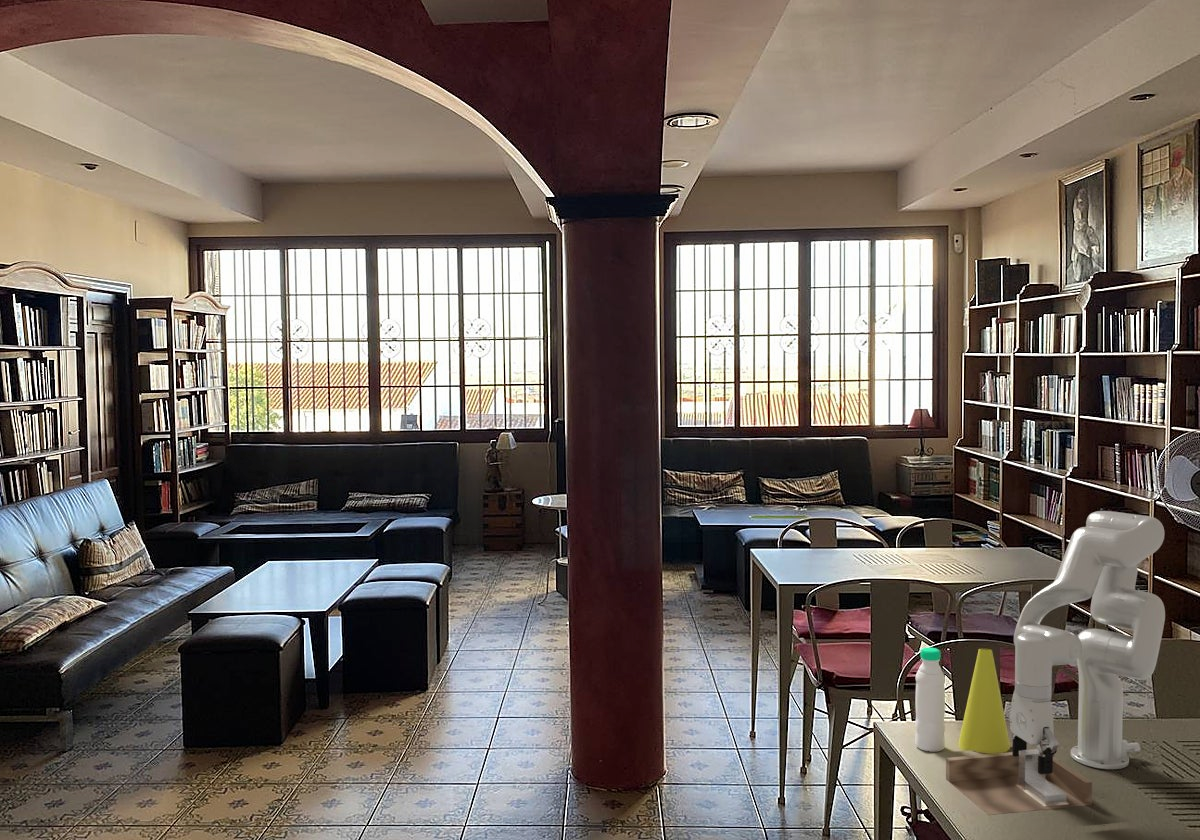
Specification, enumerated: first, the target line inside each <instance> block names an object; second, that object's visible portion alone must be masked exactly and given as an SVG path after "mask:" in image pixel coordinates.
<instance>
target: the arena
mask: <svg viewBox="0 0 1200 840" xmlns="http://www.w3.org/2000/svg"><path fill="white" fill-rule="evenodd" d="M1018 775H1019V756H1016V757H1015V756H1013V754H1012V751H1011V752H1010V751H1009V752H1008V751H1006V752H1003V753H995V754H991V753H984V754H975V755H964V756H962V755H961V756H952V757H945V780H946V781H947V782H949V783H950V784H951V785H953V787H954V788H955V789H957V790H958V791H959V792H960V793H962V794H963V795H964V796H965V797H967V799H969V800H970V801H971V802H973V803H974V804H975V805H976V806H977V807H978V808H980V810H982V811H983V812H984V813H986V814H987V815H988V816H991V815H992V816H994V815H1003V814H1004V815H1005V814H1015V813H1021V812H1023V813H1024V812H1033V811H1044V810H1045V811H1046V810H1054V809H1056V810H1057V809H1065V808H1066V809H1067V808H1073V807H1083V806H1085V807H1086V806H1092V803H1093V802H1092V800H1093V797H1092V795H1093V781H1092V780H1089V779H1088V778H1087V777H1085V776H1084V775H1082V774H1080V773H1078V771H1076V770H1075V769H1073V768H1071V767H1069V766H1068V765H1066V764H1065V763H1064V762H1062V761H1060V760H1059V759H1057V758H1056V757H1055V756H1054V757H1053V772H1052V773H1051V774H1046V776H1045V779H1046V780H1047V781H1049V782H1050V783H1052V784H1053V785H1054V786H1056V787H1057V788H1059V789H1060V790H1062V791H1063V792H1064V793H1066V794H1067V796H1066V803H1061V804H1051V805H1045V804H1043V803H1042V802H1040V801H1039V800H1038V799H1036V798H1035V797H1034V796H1032V795H1031V794H1030V793H1028V792H1027V791H1026V790H1024V789H1023V788H1022V787H1020V786H1019V785H1018Z"/></svg>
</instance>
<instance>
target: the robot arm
mask: <svg viewBox="0 0 1200 840" xmlns="http://www.w3.org/2000/svg"><path fill="white" fill-rule="evenodd" d="M1164 540H1165V529H1164V526H1163V522H1161V521H1160V520H1159V519H1157V518H1156V517H1153V516H1149V515H1142V514H1134V513H1126V512H1118V511H1110V510H1097V511H1094V512H1091V513H1090V514H1089V515H1088V516H1087V518H1086V521H1085V526H1082V527H1079V528H1077V529H1076V530H1074V532H1073V533H1072V535H1071V537H1070V539H1069V542H1068V544H1067V547H1066V550H1065V553H1064V555H1063V558H1062V561H1061V563H1060V566H1059V568H1058V571H1057V574H1056V576H1055V578H1054V581H1052V582H1051V583H1050V584H1048V585H1047V586H1045V587H1044V588H1042V589H1041V590H1039V591H1038V592H1037V593H1035V594H1034V595H1033V596H1032V597H1031V598H1030V599H1029V600H1028V601H1027V602H1026V603H1025V605H1024V606H1023V609H1022V611H1021V613H1020V615H1019V618H1018V620H1017V623H1016V626H1015V629H1014V633H1013V645H1014V647H1015V648H1014V649H1015V651H1014V653H1015V654H1014V655H1015V658H1014V660H1015V661H1014V690H1013V694H1012V698H1011V703H1010V704H1011V705H1010V706H1011V707H1010V713H1009V714H1008V715H1007V717H1008V721H1009V728H1010V729H1009V730H1010V731H1011V733H1010V734H1011V735H1010V736H1011V738H1012V751H1011V752H1012V754H1013V756H1015V757H1016V756H1019V751H1020V750H1028V748H1027V744H1028V745H1030V746H1032V747H1033V746H1034V747H1035V746H1036V749H1038V751H1039V753H1040V756H1038V773H1039V774H1051V773H1052V772H1053V757H1054V758H1055V754H1056V753H1057V752H1058V750H1057V749H1058V747H1059V745H1060V743H1059V741H1058V739H1057V738H1056V737H1055V734H1054V715H1053V706H1052V705H1053V704H1052V695H1053V693H1052V691H1053V688H1052V687H1053V686H1052V683H1053V679H1052V678H1053V666H1063V665H1064V666H1065V665H1070V664H1073V663H1074V662H1075V661H1076V664H1077V670H1078V715H1077V716H1078V717H1077V718H1078V719H1077V720H1078V721H1077V723H1078V724H1077V745H1075V746H1072V748H1071V749H1070V756H1071V757H1072V759H1073V760H1075V761H1076V762H1078V763H1080V764H1082V765H1085V766H1088V767H1091V768H1095V769H1102V770H1120V769H1124V768H1126V767H1128V766H1129V764H1130V758H1129V756H1128V755H1127V754H1129V752H1139V751H1141V745H1140V743H1139V742H1128V740H1127V739H1124V740H1123V719H1124V717H1123V715H1124V713H1123V711H1124V708H1123V707H1124V689H1123V686H1122V683H1121V680H1120V679H1119V677H1118V676H1121V677H1125V678H1128V679H1134V680H1138V681H1139V680H1140V681H1143V680H1147V679H1149V678H1150V677H1151V676H1152V675H1153V673H1154V671H1155V669H1156V667H1157V662H1158V658H1159V653H1160V647H1161V642H1162V639H1163V638H1162V636H1163V632H1164V628H1165V627H1164V625H1165V621H1166V610H1165V609H1166V608H1165V605H1164V602H1163V601H1162V599H1161V598H1160V597H1159V596H1158V595H1157V594H1154V593H1151V592H1148V591H1142V590H1137V589H1136V583H1137V578H1138V566H1137V565H1139V563H1141V562H1143V561H1144V560H1146V559H1147V558H1149V557H1150V556H1152V555H1153V554H1154V553H1156V552H1157V551H1158V550H1159V549H1160V548H1161V546H1162V545H1163V542H1164ZM1089 599H1091V601H1090V602H1091V603H1090V615H1091V617H1092V618H1093V620H1095V622H1097V623H1100V624H1103V625H1107V626H1111V627H1116V628H1120V629H1123V630H1129V631H1132V632H1133V634H1132V635H1127V634H1123V633H1119V632H1115V631H1110V630H1107V629H1101V628H1087V629H1084V630H1082V631H1080V632H1079V633H1078V635H1076V634H1074V633H1073V632H1071V631H1069V630H1065V629H1060V628H1057V627H1053V626H1049V625H1043V624H1041V622H1042V621H1043V619H1044V618H1045V616H1047V614H1048V613H1050V612H1051V611H1053V610H1055V609H1057V608H1059V607H1063V606H1066V605H1067V606H1068V605H1070V604H1071V605H1072V604H1075V603H1079V602H1082V601H1083V602H1084V601H1087V600H1089ZM1044 746H1046V748H1045V749H1044Z"/></svg>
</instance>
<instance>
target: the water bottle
mask: <svg viewBox="0 0 1200 840" xmlns="http://www.w3.org/2000/svg"><path fill="white" fill-rule="evenodd" d="M919 655H920V659H921V661H922V663H921V664H920V666H919V667H918V669H917V671H916V674H915V720H914V721H915V723H914V724H915V727H914V728H915V736H914V744H915V746H916V747H917V748H918V749H919V750H921V751H925V752H928V751H929V752H930V753H937V752H938V753H939V752H940V751H943V750H944V749H945V746H946V738H945V730H946V724H945V723H946V722H945V714H946V710H945V709H946V688H945V685H946V676H945V674H944V672H943V671H942V667H941V666H940V664H939V662H940V660H941V655H942V654H941V651H940V649H938V648H936V647H930V646H929V647H923V648H921V649H920V653H919ZM929 752H928V753H929Z"/></svg>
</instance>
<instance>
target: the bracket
mask: <svg viewBox="0 0 1200 840" xmlns="http://www.w3.org/2000/svg"><path fill="white" fill-rule="evenodd" d="M1038 756H1040V753H1039V751H1038V748H1034V749H1027V750H1020V751H1019V775H1018V785H1019V786H1020V787H1022V788H1023V789H1024V790H1026V791H1027V792H1028V793H1030V794H1031V795H1032V796H1034V797H1035V798H1036V799H1038V800H1039V801H1040V802H1042V803H1043V804H1045V805H1051V804H1061V803H1066V796H1067V794H1066V793H1064V792H1063V791H1062V790H1060V789H1059V788H1057V787H1056V786H1054V785H1053V784H1052V783H1050V782H1049V781H1047V780H1046V779H1045V776H1046V774H1039V773H1038Z"/></svg>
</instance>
